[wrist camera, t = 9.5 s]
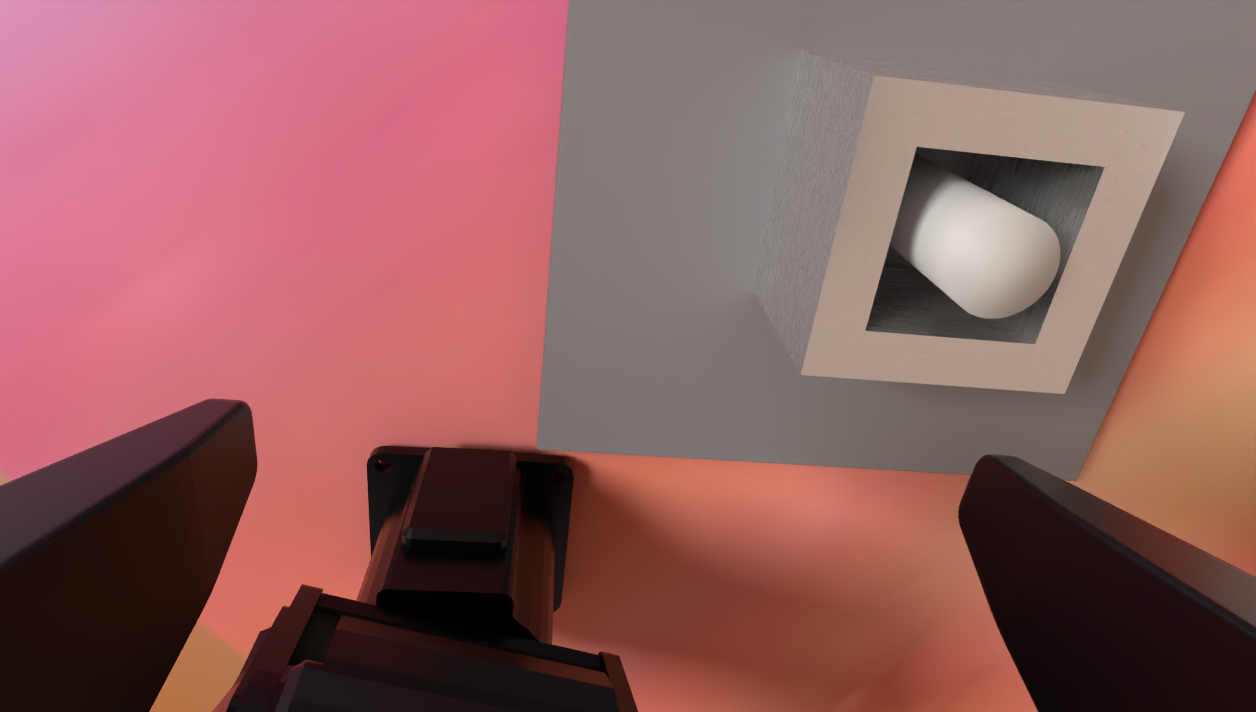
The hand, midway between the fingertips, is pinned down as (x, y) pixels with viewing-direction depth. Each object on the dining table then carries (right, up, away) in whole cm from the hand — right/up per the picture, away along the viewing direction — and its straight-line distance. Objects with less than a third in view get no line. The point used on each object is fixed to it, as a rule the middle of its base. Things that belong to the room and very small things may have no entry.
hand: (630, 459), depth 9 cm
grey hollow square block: (+7, +6, +11) cm, 14 cm away
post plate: (+7, +6, +12) cm, 15 cm away
